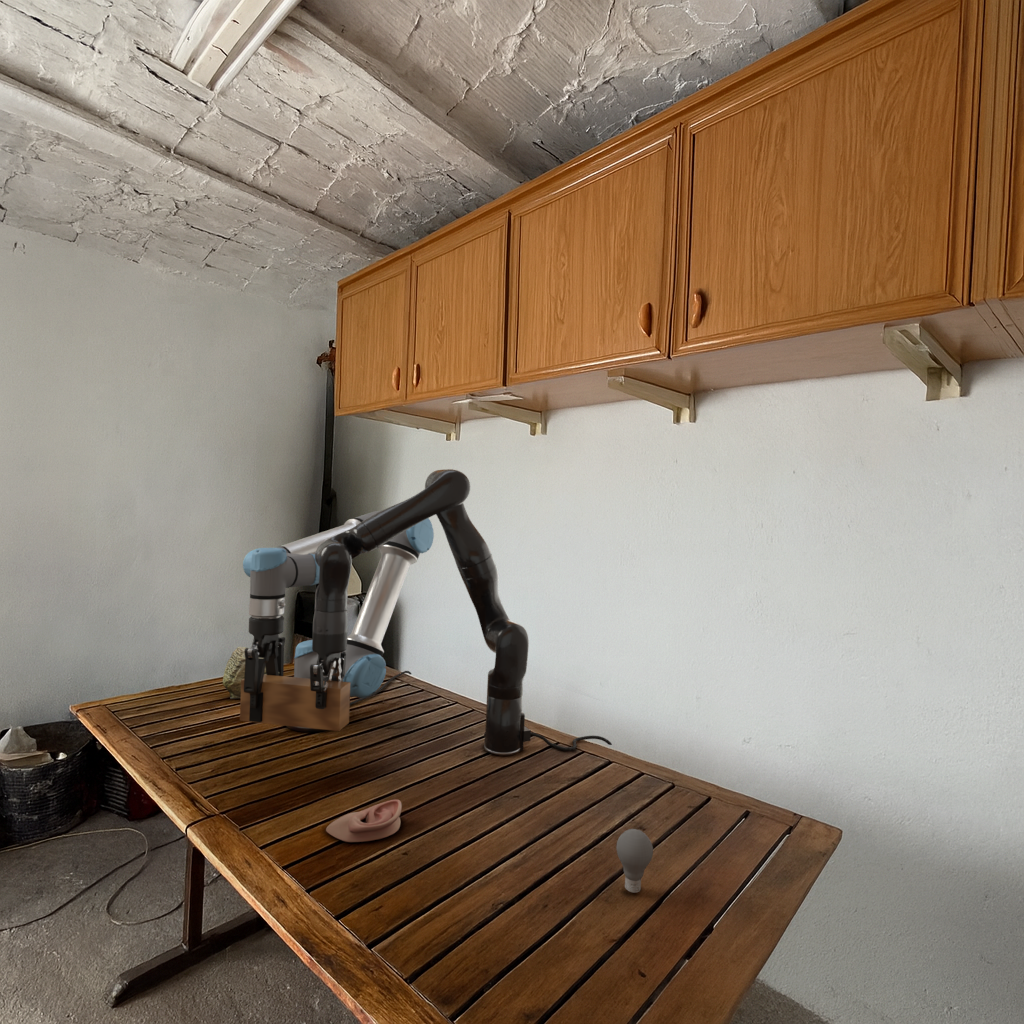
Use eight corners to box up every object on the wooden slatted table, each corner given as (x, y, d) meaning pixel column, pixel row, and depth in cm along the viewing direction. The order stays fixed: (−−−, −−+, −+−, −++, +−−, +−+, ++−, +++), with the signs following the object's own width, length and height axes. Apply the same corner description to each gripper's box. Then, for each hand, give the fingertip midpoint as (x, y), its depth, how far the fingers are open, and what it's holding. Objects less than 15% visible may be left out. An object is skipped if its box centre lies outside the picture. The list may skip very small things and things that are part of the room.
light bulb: (610, 879, 108) (613, 822, 108) (644, 879, 109) (647, 822, 109) (619, 902, 102) (622, 840, 102) (655, 901, 103) (658, 840, 103)
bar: (239, 720, 143) (241, 679, 143) (253, 712, 149) (254, 673, 148) (339, 731, 140) (340, 689, 139) (349, 722, 145) (350, 682, 145)
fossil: (218, 695, 195) (220, 647, 195) (278, 685, 208) (279, 640, 207) (228, 703, 189) (230, 653, 188) (289, 692, 201) (290, 645, 201)
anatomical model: (318, 816, 117) (346, 789, 129) (317, 837, 118) (346, 808, 129) (385, 827, 115) (408, 798, 126) (384, 848, 115) (407, 818, 126)
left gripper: (260, 624, 135) (256, 732, 135) (301, 610, 153) (298, 705, 154) (227, 622, 136) (223, 729, 137) (272, 608, 154) (269, 702, 155)
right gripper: (332, 637, 135) (329, 715, 135) (358, 624, 149) (355, 695, 149) (299, 634, 136) (296, 712, 136) (328, 622, 150) (325, 692, 150)
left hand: (263, 716), depth 145 cm, fingers closed on bar, 5 cm apart
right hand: (327, 703), depth 143 cm, fingers open, 6 cm apart
